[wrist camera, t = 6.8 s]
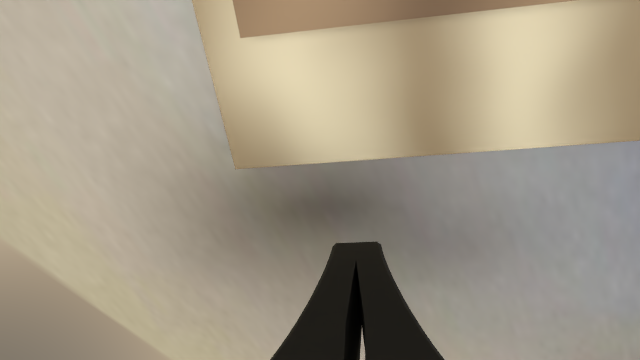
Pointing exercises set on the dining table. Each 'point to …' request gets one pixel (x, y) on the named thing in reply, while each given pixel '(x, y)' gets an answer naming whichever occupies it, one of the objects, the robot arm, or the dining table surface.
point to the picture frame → (350, 12)
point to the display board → (427, 83)
